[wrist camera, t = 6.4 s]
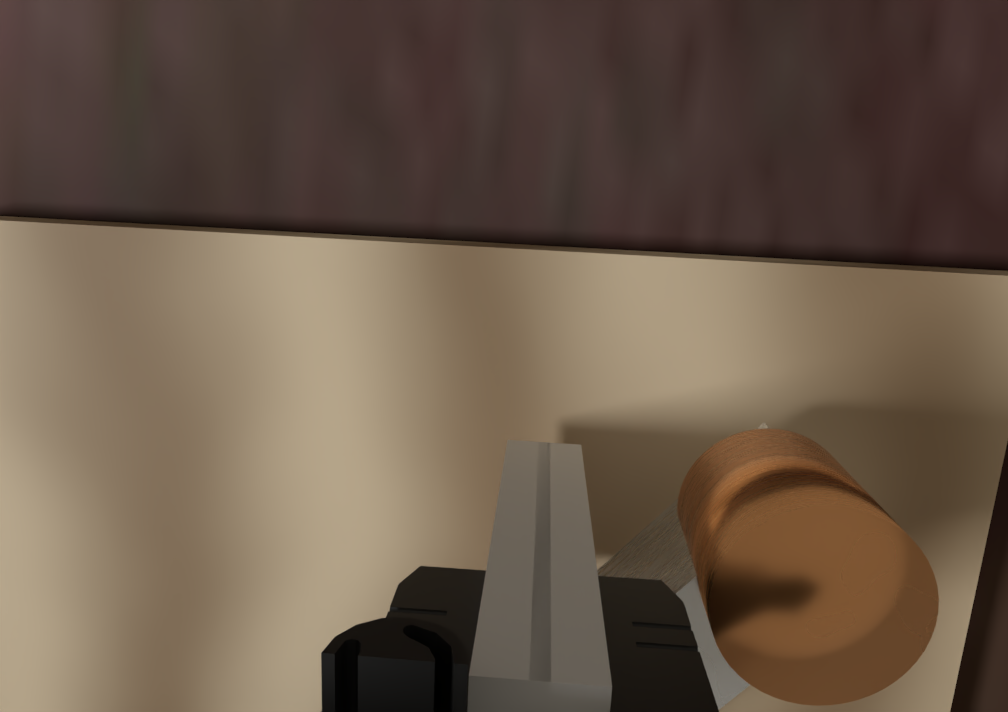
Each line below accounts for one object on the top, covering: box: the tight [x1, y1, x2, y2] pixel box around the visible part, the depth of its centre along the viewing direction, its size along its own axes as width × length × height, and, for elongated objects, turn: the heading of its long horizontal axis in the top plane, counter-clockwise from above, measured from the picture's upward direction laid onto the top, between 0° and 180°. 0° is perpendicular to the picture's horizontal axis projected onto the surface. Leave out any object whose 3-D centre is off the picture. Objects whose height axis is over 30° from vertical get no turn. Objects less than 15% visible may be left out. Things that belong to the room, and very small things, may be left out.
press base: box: [0, 216, 1008, 712], centre depth 14 cm, size 20×16×5 cm
